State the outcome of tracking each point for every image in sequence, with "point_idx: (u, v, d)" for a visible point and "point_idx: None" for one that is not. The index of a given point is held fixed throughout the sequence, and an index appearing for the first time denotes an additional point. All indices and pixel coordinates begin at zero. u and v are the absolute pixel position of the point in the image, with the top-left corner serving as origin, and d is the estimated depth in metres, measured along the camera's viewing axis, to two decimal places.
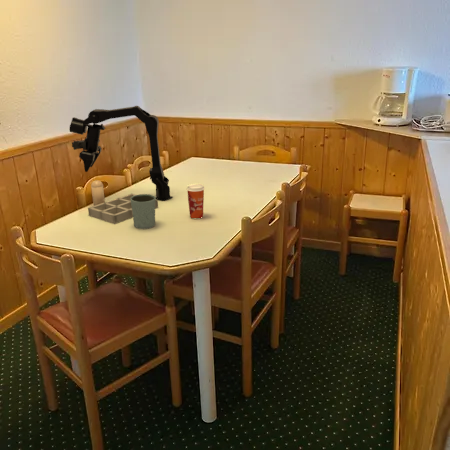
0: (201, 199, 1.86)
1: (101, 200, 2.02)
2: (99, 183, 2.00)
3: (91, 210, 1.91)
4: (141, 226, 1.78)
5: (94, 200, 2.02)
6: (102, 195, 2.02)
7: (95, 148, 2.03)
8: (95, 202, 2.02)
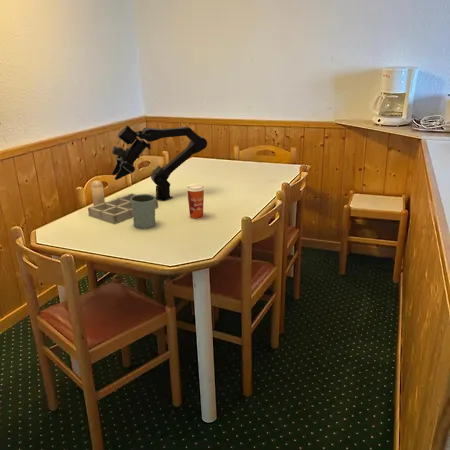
0: (201, 199, 1.86)
1: (101, 200, 2.02)
2: (99, 183, 2.00)
3: (91, 210, 1.91)
4: (141, 226, 1.78)
5: (94, 200, 2.02)
6: (102, 195, 2.02)
7: (133, 162, 2.02)
8: (95, 202, 2.02)
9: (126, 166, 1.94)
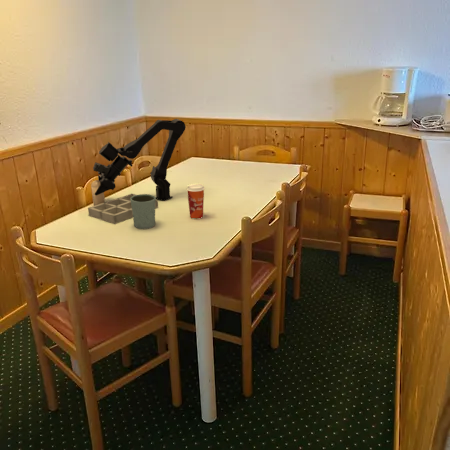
0: (201, 199, 1.86)
1: (101, 200, 2.02)
2: (99, 183, 2.00)
3: (91, 210, 1.91)
4: (141, 226, 1.78)
5: (94, 200, 2.02)
6: (102, 195, 2.02)
7: (114, 178, 2.01)
8: (95, 202, 2.02)
9: (106, 183, 1.93)
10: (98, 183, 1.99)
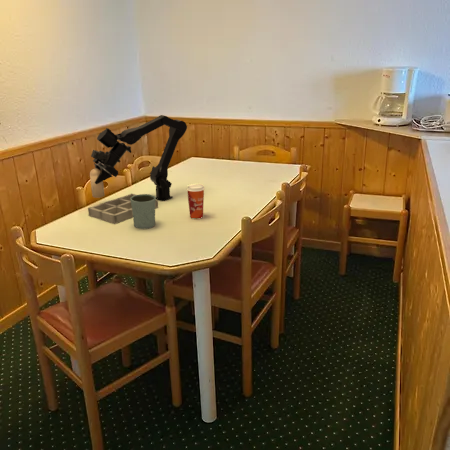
0: (201, 199, 1.86)
1: (101, 189, 1.94)
2: (99, 171, 1.92)
3: (91, 210, 1.91)
4: (141, 226, 1.78)
5: (94, 189, 1.94)
6: (102, 183, 1.94)
7: None
8: (95, 191, 1.94)
9: (110, 170, 1.87)
10: (98, 171, 1.92)
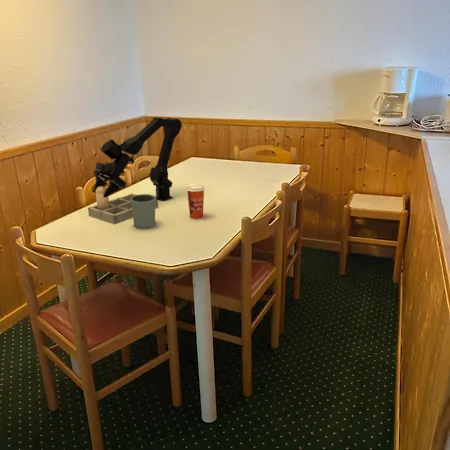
0: (201, 199, 1.86)
1: (108, 207, 1.92)
2: (105, 188, 1.89)
3: (91, 210, 1.91)
4: (141, 226, 1.78)
5: (100, 207, 1.90)
6: (108, 201, 1.92)
7: (118, 177, 1.92)
8: (102, 209, 1.91)
9: (119, 182, 1.84)
10: (104, 189, 1.89)
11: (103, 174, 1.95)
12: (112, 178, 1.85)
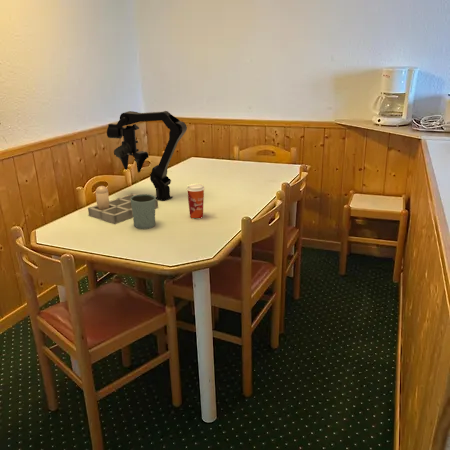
0: (201, 199, 1.86)
1: (108, 206, 1.92)
2: (105, 188, 1.90)
3: (91, 210, 1.91)
4: (141, 226, 1.78)
5: (100, 207, 1.91)
6: (108, 201, 1.92)
7: (136, 148, 2.10)
8: (102, 209, 1.91)
9: (142, 157, 2.05)
10: (104, 188, 1.89)
11: None
12: (135, 157, 2.05)
